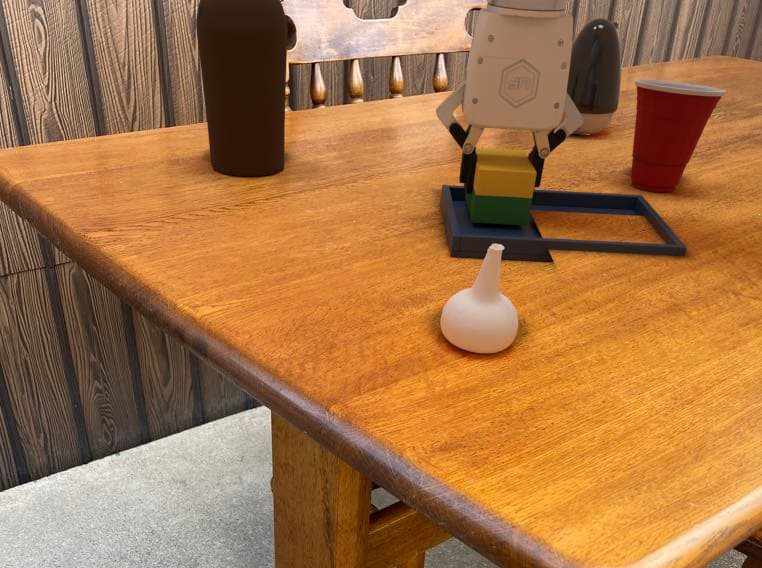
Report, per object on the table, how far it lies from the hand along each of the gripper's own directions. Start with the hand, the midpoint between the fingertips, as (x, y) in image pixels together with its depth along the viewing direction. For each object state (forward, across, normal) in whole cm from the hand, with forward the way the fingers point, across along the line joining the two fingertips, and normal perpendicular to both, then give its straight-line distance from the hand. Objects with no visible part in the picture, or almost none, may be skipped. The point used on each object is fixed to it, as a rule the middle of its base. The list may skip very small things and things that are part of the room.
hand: (498, 190), depth 86 cm
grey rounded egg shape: (+3, +19, +47) cm, 51 cm away
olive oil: (+4, -30, +17) cm, 35 cm away
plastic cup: (+3, +23, +18) cm, 29 cm away
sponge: (+2, 0, 0) cm, 2 cm away
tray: (+3, +6, -3) cm, 8 cm away
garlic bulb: (+4, -5, -31) cm, 32 cm away
